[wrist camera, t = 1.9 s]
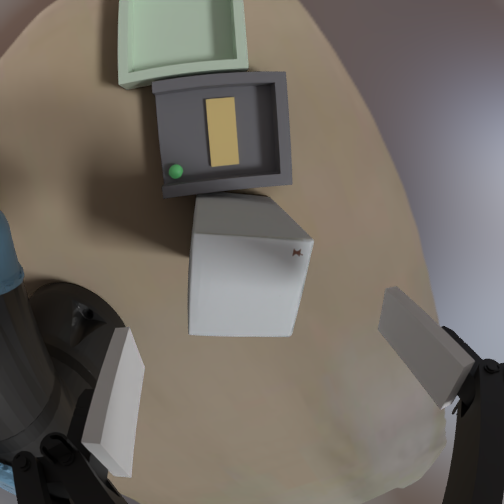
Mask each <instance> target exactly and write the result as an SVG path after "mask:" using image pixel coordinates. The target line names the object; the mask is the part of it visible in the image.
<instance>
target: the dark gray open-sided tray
mask: <svg viewBox="0 0 504 504" xmlns="http://www.w3.org/2000/svg"><path fill="white" fill-rule="evenodd" d="M152 93H153V94H154V95H155V96H156V110H157V122H158V133H159V143H160V153H161V162H162V170H163V178H164V185H163V186H162V191H163V199H165V198H172V197H179V196H186V195H194V194H202V193H210V192H218V191H227V190H237V189H246V188H257V187H268V186H280V185H292V163H291V143H290V125H289V109H288V95H287V82H286V72H235V73H219V74H207V75H197V76H189V77H181V78H174V79H167V80H161V81H155V82H152Z"/></svg>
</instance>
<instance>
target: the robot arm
mask: <svg viewBox="0 0 504 504" xmlns="http://www.w3.org/2000/svg"><path fill="white" fill-rule="evenodd" d="M23 278H24V271H23V267H21V265H20V263H19V262H18V259H17V255H16V252H15V248H14V244H13V240H12V236H11V231H10V227H9V224H8V221H7V219H6V217H5V215H4V214H3V213H2V211H1V210H0V487H1V488H2V489H4V490H6V491H8V492H10V493H13V494H14V495H16V496H17V501H18V504H128V503H127V502H126V501H125V499H124V498H123V497H122V496H121V494H120V493H119V492H118V491H117V489H116V488H115V487H114V485H113V484H112V483H111V482H110V480H109V479H108V478H107V474H108V471H109V472H110V473H111V474H112V475H113V476H119V477H131V476H132V463H133V452H134V443H135V433H136V425H137V417H138V410H139V403H140V396H141V389H142V383H143V377H144V371H145V366H144V364H143V361H142V359H141V356H140V354H139V351H138V349H137V346H136V343H135V341H134V338H133V335H132V332H131V330H130V327H125V325H124V323H123V321H122V320H121V318H120V317H119V316H118V314H117V313H116V312H115V311H114V310H113V309H112V307H111V306H110V305H108V304H107V303H106V302H105V301H104V300H103V299H101V298H100V297H99V296H97V295H96V294H94V293H92V292H91V291H89V290H87V289H84V288H82V287H80V286H77V285H73V284H68V283H51V284H47V285H45V286H43V287H41V288H39V289H38V290H37V291H36V292H35V293H34V294H33V295H32V296H31V298H30V299H28V296H27V292H26V289H25V285H24V282H23ZM378 330H379V332H380V333H381V334H382V335H383V336H384V338H385V339H386V340H387V341H388V343H389V344H390V345H391V346H392V348H393V349H394V350H395V351H396V353H397V354H398V355H399V356H400V358H401V359H402V360H403V361H404V363H405V364H406V365H407V366H408V368H409V369H410V370H411V372H412V373H413V374H414V375H415V377H416V378H417V379H418V381H419V382H420V383H421V384H422V386H423V387H424V388H425V390H426V391H427V392H428V394H429V395H430V396H431V398H432V399H433V400H434V402H435V403H436V404H437V406H438V407H439V408H440V410H441V409H443V408H445V407H446V406H448V405H450V404H452V402H453V401H454V399H455V397H456V396H457V395H458V396H459V398H460V400H459V402H458V403H457V405H456V407H455V408H454V409H453V412H452V414H454V413H455V412H456V410H457V409H458V410H457V423H456V432H455V440H454V448H453V454H452V460H451V466H450V472H449V477H448V482H447V486H446V491H445V494H444V499H443V502H442V504H502V500H503V493H504V363H500V364H499V363H498V362H496V361H494V360H492V359H484V360H482V359H481V358H480V357H479V356H478V355H477V354H476V353H475V352H474V351H473V350H472V349H471V348H470V347H469V346H468V345H467V344H466V343H464V341H463V340H462V339H461V338H459V336H458V335H457V334H456V333H455V332H454V331H453V330H451V329H449V328H447V327H445V326H442V327H440V326H439V325H438V324H437V323H436V322H435V321H434V320H433V319H432V318H431V317H430V316H429V315H428V314H427V313H426V312H425V311H423V310H422V309H421V308H420V307H419V306H418V305H417V304H416V303H415V302H414V301H413V300H412V299H410V298H409V297H408V296H407V295H406V294H405V293H404V292H403V291H402V290H400V289H399V288H398V287H397V286H395V287H391V288H386V289H385V294H384V300H383V306H382V311H381V316H380V321H379V326H378Z"/></svg>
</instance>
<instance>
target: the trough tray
mask: <svg viewBox="0 0 504 504" xmlns="http://www.w3.org/2000/svg"><path fill="white" fill-rule="evenodd" d="M248 68H249V67H248V54H247V41H246V29H245V17H244V5H243V0H119V15H118V82H119V85H120V86H121V87H123V88H125V89H126V90H129V89H134V88H139V87H144V86H149V85H152V82H155V81H161V80H167V79H174V78H181V77H189V76H197V75H207V74H219V73H235V72H246V71H247V70H248Z"/></svg>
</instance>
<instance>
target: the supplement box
mask: <svg viewBox="0 0 504 504" xmlns="http://www.w3.org/2000/svg"><path fill="white" fill-rule="evenodd" d="M313 243H314V240H313V239H312V238H311V237H310V236H309V235H308V234H307V233H306V232H305V231H304V230H303V229H302V228H301V227H300V226H299V225H298V224H297V223H296V222H295V221H294V220H293V219H292V218H291V217H290V216H289V215H288V214H287V213H286V212H285V211H284V210H283V209H282V208H281V207H280V206H278V205H277V204H276V203H275V202H274V201H273V200H272V199H271V198H270V197H265V196H256V195H246V194H236V193H226V192H210V193H202V194H197V195H196V203H195V210H194V219H193V228H192V236H191V247H190V257H189V271H188V334H189V335H201V336H238V337H247V336H255V337H290V336H291V334H292V332H293V328H294V324H295V320H296V316H297V312H298V308H299V304H300V300H301V296H302V293H303V289H304V283H305V278H306V274H307V270H308V265H309V261H310V256H311V252H312V247H313Z"/></svg>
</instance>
